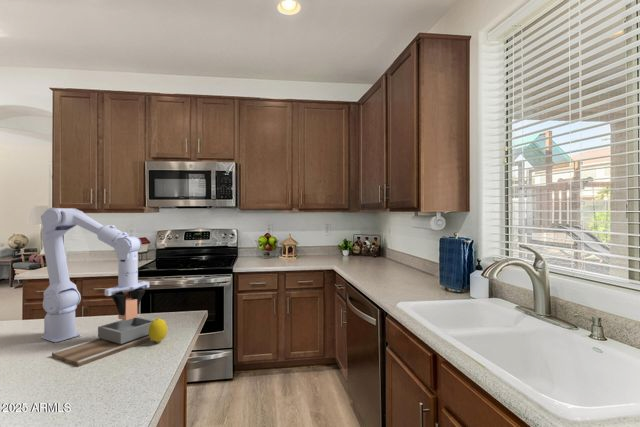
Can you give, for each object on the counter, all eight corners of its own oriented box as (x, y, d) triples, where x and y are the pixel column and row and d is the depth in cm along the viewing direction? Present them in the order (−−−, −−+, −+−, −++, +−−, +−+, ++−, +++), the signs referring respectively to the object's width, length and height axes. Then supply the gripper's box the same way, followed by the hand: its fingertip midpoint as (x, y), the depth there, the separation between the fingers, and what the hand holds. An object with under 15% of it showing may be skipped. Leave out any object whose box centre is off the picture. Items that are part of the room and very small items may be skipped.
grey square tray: (98, 339, 113) (98, 326, 113) (135, 328, 125) (135, 316, 125) (120, 346, 108) (120, 332, 108) (157, 333, 119) (157, 321, 119)
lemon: (160, 346, 110) (160, 321, 110) (144, 345, 111) (144, 320, 111) (170, 340, 116) (170, 316, 116) (156, 338, 117) (156, 315, 117)
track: (51, 356, 102) (51, 343, 102) (137, 329, 126) (137, 318, 126) (78, 366, 96) (78, 352, 96) (163, 335, 120) (163, 324, 120)
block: (118, 318, 115) (118, 300, 115) (129, 315, 119) (129, 298, 119) (125, 320, 114) (125, 302, 114) (137, 317, 117) (137, 299, 117)
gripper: (114, 277, 108) (114, 320, 108) (155, 270, 121) (155, 309, 121) (100, 275, 111) (100, 317, 111) (142, 268, 124) (142, 306, 124)
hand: (128, 312), depth 116 cm, fingers closed on block, 4 cm apart
